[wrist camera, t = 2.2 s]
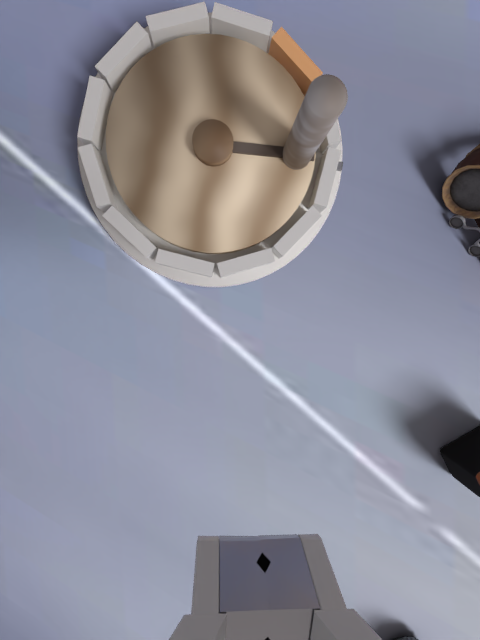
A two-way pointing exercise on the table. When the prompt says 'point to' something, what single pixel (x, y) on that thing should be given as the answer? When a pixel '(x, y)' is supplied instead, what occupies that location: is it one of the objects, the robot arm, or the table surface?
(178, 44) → the dial
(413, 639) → the koala plush
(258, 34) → the dial base
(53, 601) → the table surface
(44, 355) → the table surface
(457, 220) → the goggles
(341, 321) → the table surface
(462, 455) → the battery
